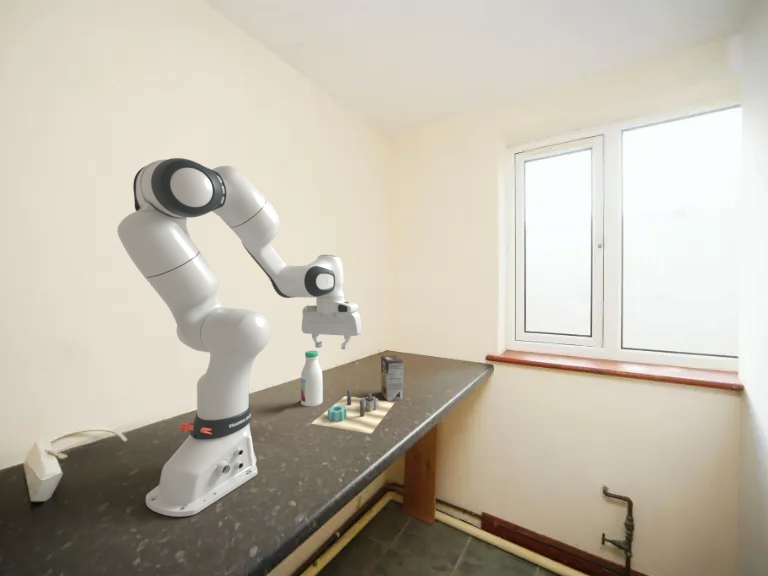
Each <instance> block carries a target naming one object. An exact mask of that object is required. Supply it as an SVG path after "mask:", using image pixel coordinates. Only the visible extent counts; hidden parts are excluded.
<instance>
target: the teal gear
mask: <svg viewBox="0 0 768 576" xmlns="http://www.w3.org/2000/svg"><path fill="white" fill-rule="evenodd" d="M327 410H328V419H329V421H330V422H331V421H335V422H338V421H344V418H346V417H347V409H346V408H345V406H339V405H337V406H333V405H331V406H330V407H329V408H327Z"/></svg>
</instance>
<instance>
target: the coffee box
mask: <svg viewBox="0 0 768 576" xmlns="http://www.w3.org/2000/svg"><path fill="white" fill-rule="evenodd" d="M380 367H381V368H380V375H381V376H380V379H381V380H380V382H381V383H380V386H381V390H380V391H381V393H380V394H382V396H383V397H384V399H385V401H388V402H392V401H398V400H403V399H404V360H402V359H401V358H400V357H398V355H381V356H380Z"/></svg>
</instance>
